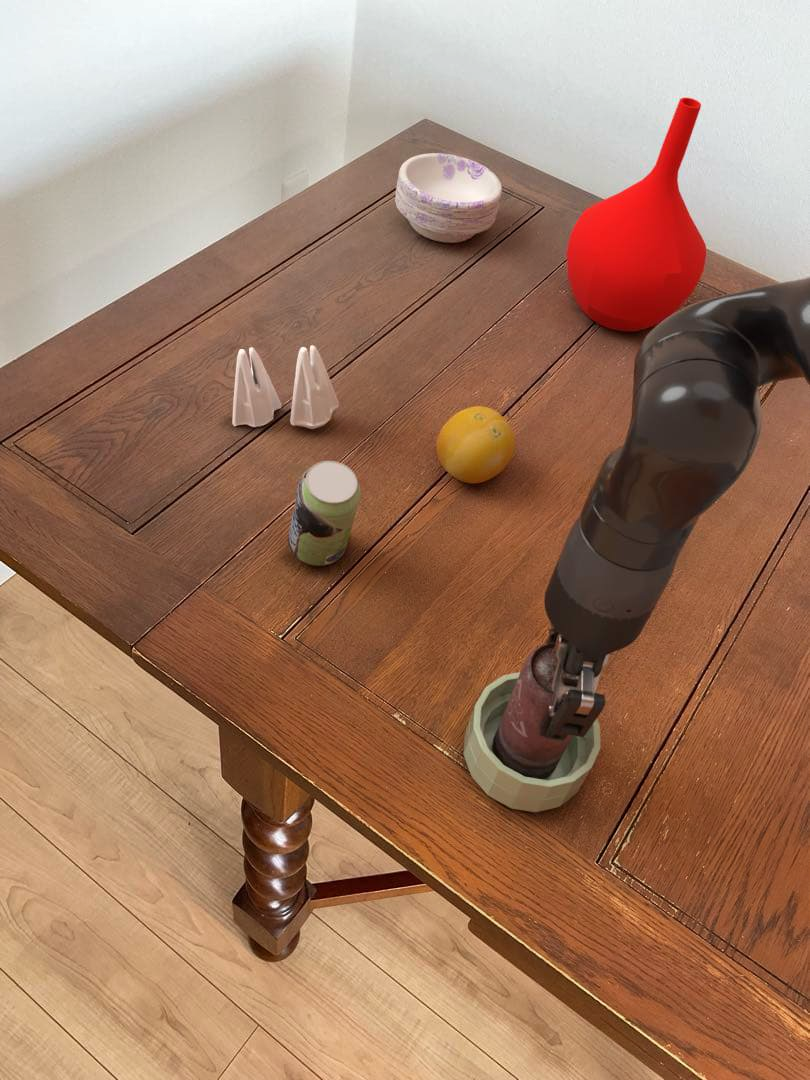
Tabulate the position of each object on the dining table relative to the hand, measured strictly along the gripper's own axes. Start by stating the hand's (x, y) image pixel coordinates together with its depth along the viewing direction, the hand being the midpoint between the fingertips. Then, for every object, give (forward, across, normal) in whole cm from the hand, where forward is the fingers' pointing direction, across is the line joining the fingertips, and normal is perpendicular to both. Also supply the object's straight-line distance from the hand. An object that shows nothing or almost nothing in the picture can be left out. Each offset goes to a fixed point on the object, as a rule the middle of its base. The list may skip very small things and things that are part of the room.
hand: (551, 698), depth 81 cm
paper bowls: (+10, +87, +14) cm, 89 cm away
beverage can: (+10, +20, +22) cm, 32 cm away
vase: (+10, +73, -12) cm, 75 cm away
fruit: (+10, +36, +7) cm, 38 cm away
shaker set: (+10, +39, +29) cm, 50 cm away
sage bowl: (+10, 0, 0) cm, 10 cm away
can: (+10, 0, 0) cm, 10 cm away
